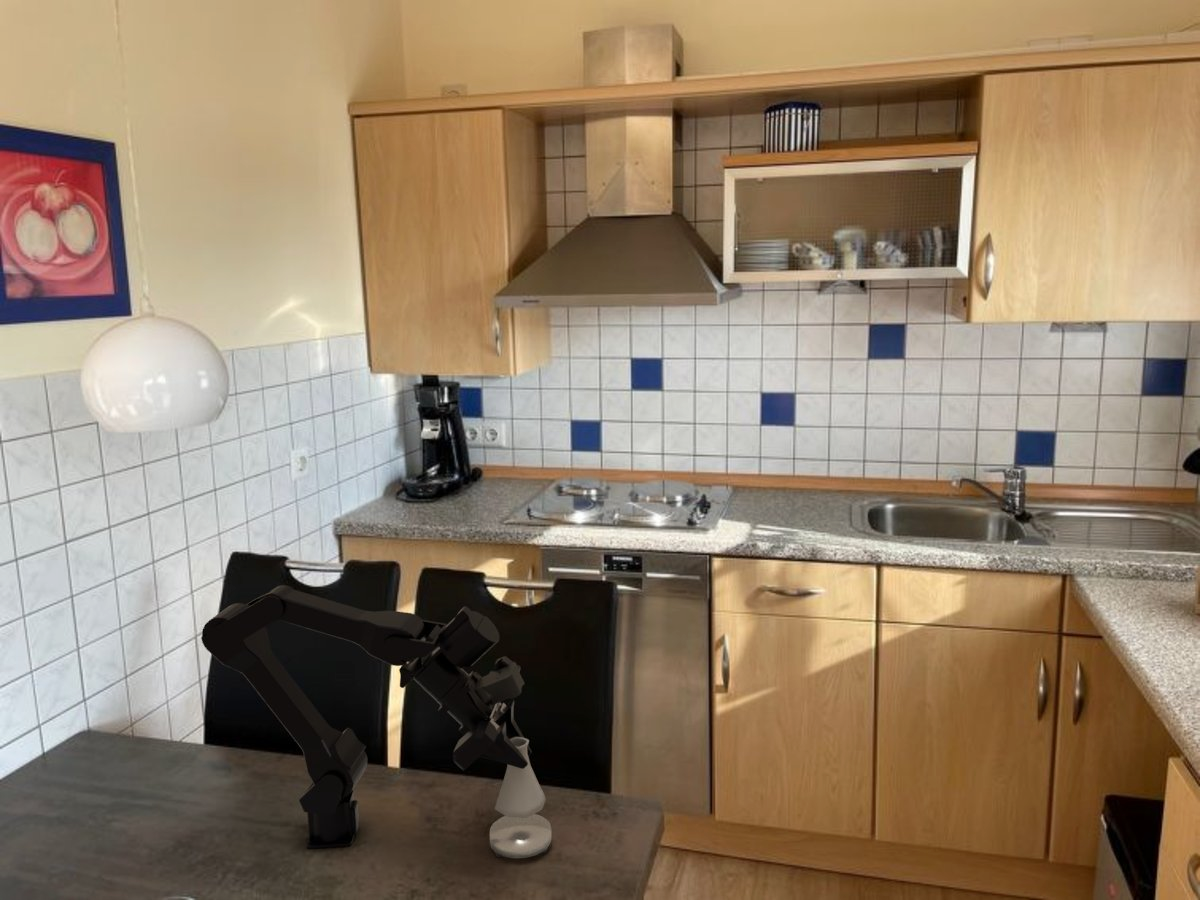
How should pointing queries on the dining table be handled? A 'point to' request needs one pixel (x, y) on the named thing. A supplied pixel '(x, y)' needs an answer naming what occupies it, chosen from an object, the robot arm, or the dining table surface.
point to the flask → (520, 788)
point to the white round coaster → (520, 836)
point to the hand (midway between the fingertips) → (527, 760)
